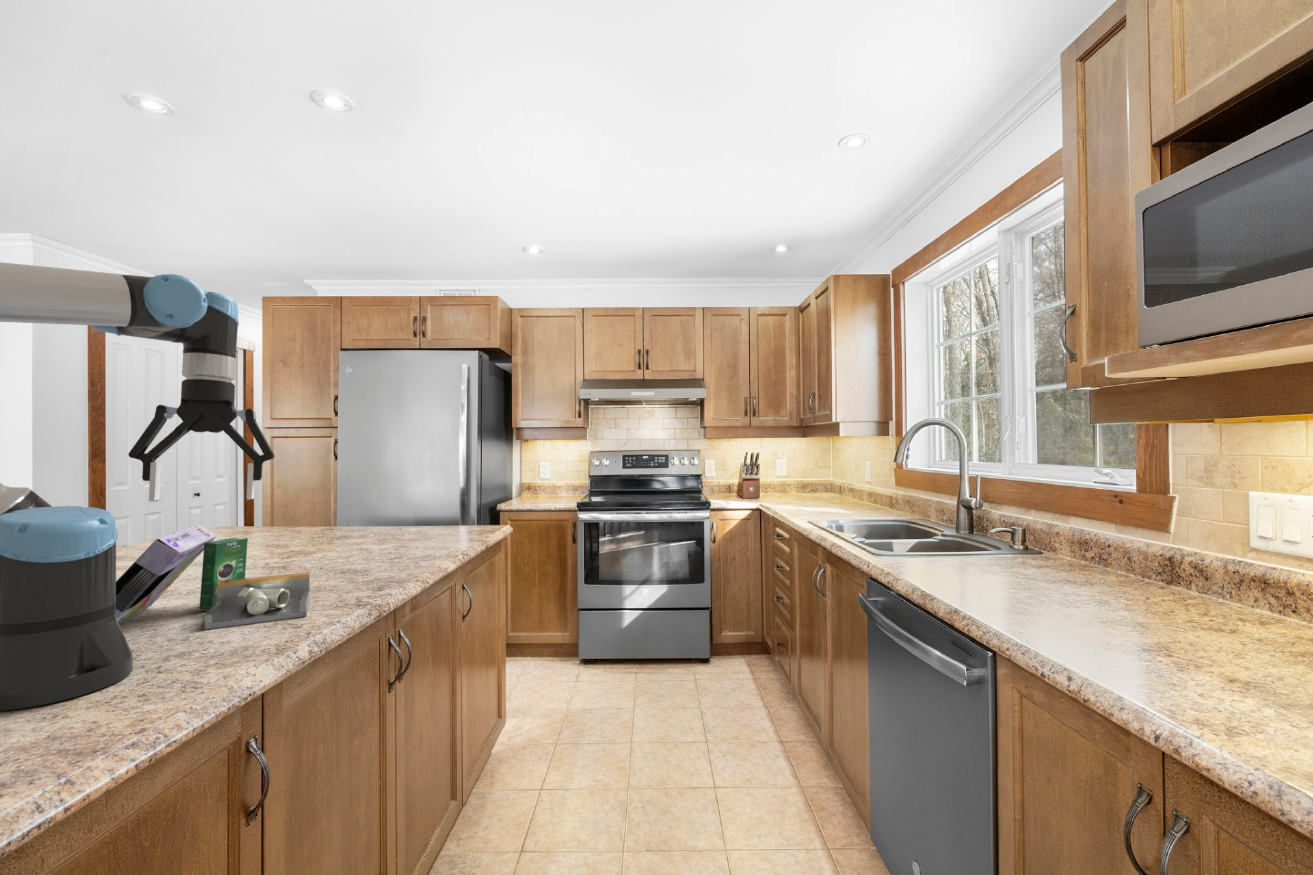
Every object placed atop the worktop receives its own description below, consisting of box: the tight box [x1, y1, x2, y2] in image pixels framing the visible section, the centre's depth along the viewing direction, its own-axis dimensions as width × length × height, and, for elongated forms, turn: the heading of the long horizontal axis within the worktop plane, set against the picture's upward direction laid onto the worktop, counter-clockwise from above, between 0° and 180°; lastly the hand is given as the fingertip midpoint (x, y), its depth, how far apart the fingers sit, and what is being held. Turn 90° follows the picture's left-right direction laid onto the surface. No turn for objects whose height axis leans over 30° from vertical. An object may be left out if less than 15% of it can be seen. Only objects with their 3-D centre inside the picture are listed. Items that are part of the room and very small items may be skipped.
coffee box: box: [199, 536, 249, 612], centre depth 114 cm, size 8×3×13 cm, turn 175°
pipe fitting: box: [237, 588, 290, 615], centre depth 106 cm, size 8×4×7 cm
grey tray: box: [204, 571, 311, 631], centre depth 108 cm, size 13×15×6 cm
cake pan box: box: [116, 523, 217, 626], centre depth 105 cm, size 19×5×18 cm
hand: (203, 499), depth 101 cm, fingers open, 13 cm apart
